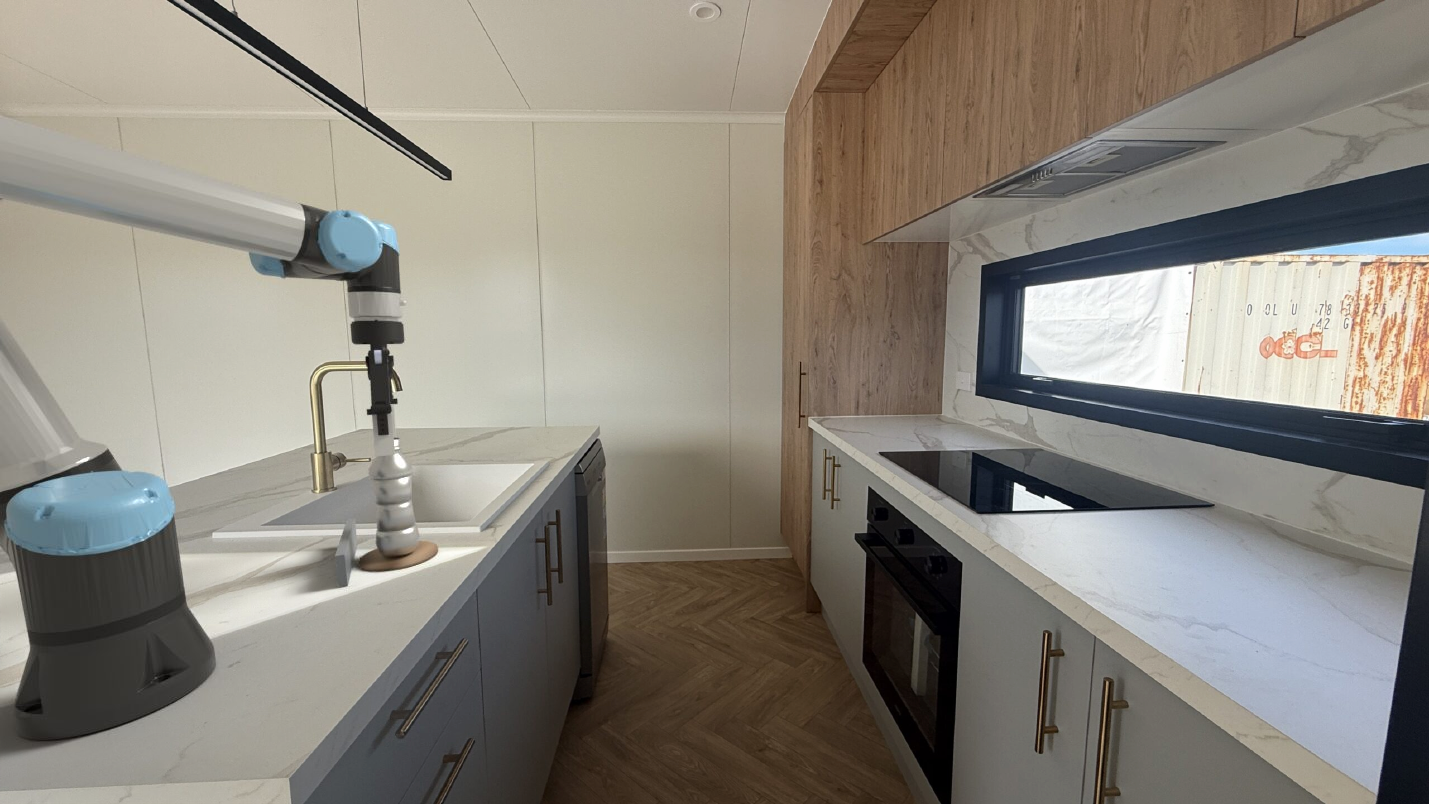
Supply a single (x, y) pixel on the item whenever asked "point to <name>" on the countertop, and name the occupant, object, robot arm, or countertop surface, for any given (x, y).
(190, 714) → the countertop surface
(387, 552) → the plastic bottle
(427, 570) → the countertop surface
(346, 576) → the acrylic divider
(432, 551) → the walnut coaster
